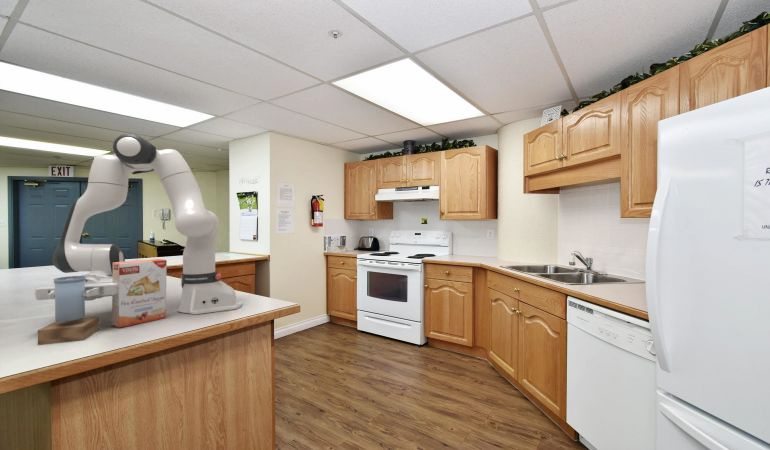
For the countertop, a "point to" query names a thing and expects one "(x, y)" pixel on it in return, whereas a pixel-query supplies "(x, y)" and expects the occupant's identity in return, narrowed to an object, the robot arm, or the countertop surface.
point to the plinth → (68, 330)
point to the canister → (69, 298)
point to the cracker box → (139, 292)
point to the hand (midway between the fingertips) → (68, 295)
